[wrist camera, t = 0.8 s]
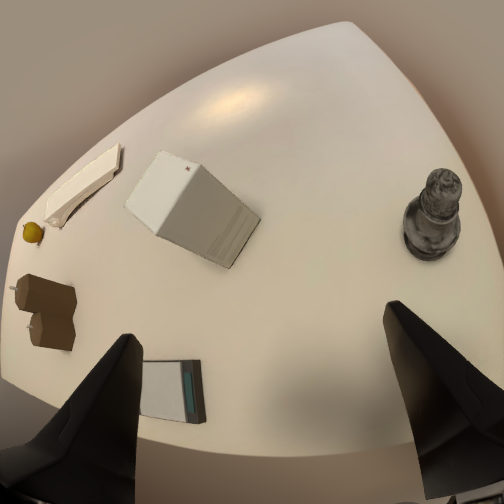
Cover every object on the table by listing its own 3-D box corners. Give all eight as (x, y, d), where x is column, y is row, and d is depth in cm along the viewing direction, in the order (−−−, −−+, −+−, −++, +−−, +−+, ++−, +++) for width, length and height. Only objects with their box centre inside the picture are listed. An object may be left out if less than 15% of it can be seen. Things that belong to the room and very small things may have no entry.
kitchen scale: (200, 359, 31) (189, 360, 30) (206, 421, 28) (196, 425, 27) (140, 360, 35) (129, 360, 34) (145, 413, 33) (134, 414, 31)
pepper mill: (454, 263, 22) (494, 213, 12) (402, 264, 25) (413, 212, 14) (449, 209, 24) (474, 138, 13) (399, 210, 26) (401, 137, 16)
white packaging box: (221, 198, 37) (160, 147, 26) (262, 219, 33) (202, 162, 23) (192, 244, 37) (121, 206, 26) (228, 271, 33) (154, 235, 23)
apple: (44, 224, 70) (24, 215, 63) (46, 231, 67) (26, 222, 60) (36, 241, 70) (17, 233, 63) (39, 249, 66) (19, 241, 60)
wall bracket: (137, 160, 61) (66, 209, 66) (120, 139, 56) (50, 193, 61) (129, 184, 55) (56, 234, 60) (109, 160, 49) (38, 217, 55)
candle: (64, 276, 53) (10, 257, 40) (85, 300, 46) (18, 282, 33) (50, 327, 51) (-3, 315, 38) (69, 358, 44) (6, 349, 31)
